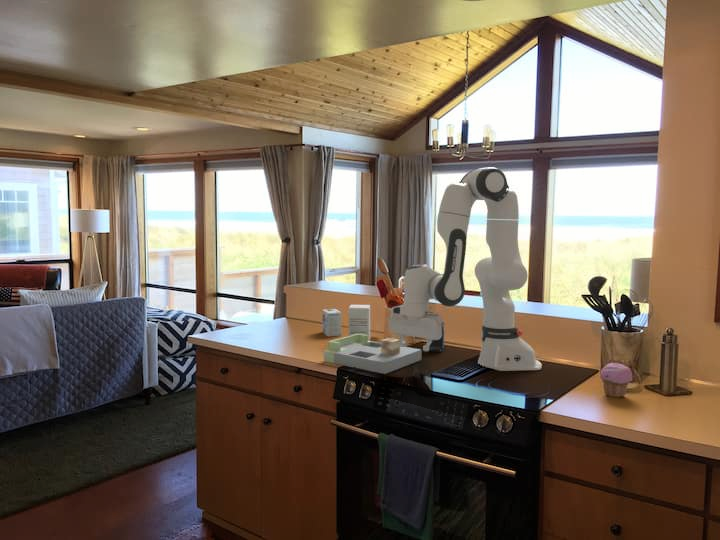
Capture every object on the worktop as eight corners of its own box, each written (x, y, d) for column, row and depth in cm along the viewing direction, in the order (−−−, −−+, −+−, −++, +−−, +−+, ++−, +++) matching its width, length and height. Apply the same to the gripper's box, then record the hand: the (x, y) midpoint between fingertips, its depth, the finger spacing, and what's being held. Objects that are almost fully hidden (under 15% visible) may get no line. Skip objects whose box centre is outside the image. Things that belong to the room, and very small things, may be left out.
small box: (443, 352, 229) (443, 326, 227) (426, 351, 230) (427, 325, 229) (444, 346, 239) (445, 321, 238) (429, 345, 240) (429, 320, 239)
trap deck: (421, 359, 216) (421, 341, 216) (385, 374, 197) (385, 354, 197) (362, 349, 233) (362, 332, 232) (323, 361, 214) (323, 342, 214)
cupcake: (609, 389, 180) (611, 358, 179) (636, 396, 173) (638, 364, 172) (594, 394, 175) (595, 362, 174) (621, 402, 168) (622, 369, 167)
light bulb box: (322, 332, 267) (321, 309, 266) (335, 331, 269) (335, 308, 268) (327, 336, 257) (327, 313, 256) (342, 335, 259) (342, 312, 258)
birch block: (399, 353, 210) (400, 339, 210) (392, 355, 207) (392, 342, 206) (388, 351, 213) (388, 337, 213) (380, 353, 210) (380, 340, 209)
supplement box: (350, 337, 256) (350, 304, 254) (370, 337, 255) (370, 304, 253) (348, 341, 247) (348, 307, 245) (368, 342, 246) (368, 307, 244)
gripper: (446, 312, 198) (444, 351, 199) (396, 305, 210) (395, 343, 211) (437, 314, 193) (435, 355, 194) (387, 307, 205) (386, 345, 206)
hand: (414, 348), depth 203 cm, fingers open, 8 cm apart
